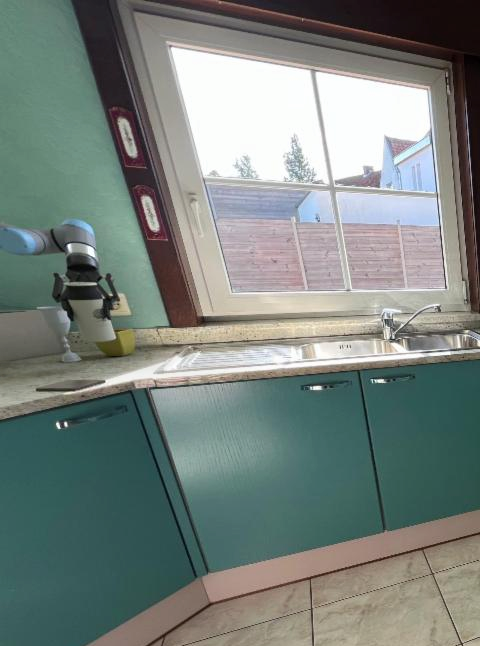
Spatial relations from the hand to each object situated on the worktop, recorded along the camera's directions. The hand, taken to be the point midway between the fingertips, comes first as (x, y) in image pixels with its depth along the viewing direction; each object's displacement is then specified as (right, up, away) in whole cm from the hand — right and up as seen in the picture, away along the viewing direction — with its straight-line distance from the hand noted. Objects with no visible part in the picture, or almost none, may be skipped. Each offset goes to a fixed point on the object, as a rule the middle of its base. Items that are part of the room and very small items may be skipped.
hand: (89, 318), depth 156 cm
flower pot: (-15, -7, +25) cm, 30 cm away
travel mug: (-2, -6, +6) cm, 9 cm away
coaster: (+11, -24, -16) cm, 31 cm away
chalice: (-22, -11, +15) cm, 29 cm away
